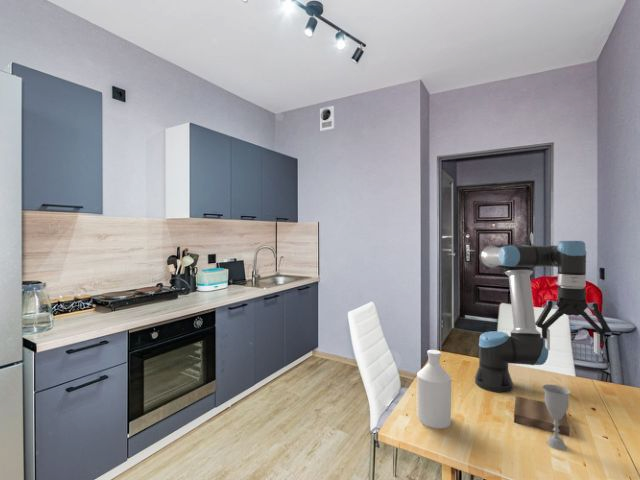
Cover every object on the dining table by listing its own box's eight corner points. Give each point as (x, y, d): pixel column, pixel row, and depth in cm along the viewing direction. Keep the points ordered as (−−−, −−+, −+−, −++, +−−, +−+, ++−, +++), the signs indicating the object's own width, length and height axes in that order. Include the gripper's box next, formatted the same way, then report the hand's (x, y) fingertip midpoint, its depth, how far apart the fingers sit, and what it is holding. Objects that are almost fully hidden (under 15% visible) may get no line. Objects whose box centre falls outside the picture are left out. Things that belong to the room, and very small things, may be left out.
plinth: (514, 422, 121) (514, 414, 121) (515, 403, 135) (515, 396, 135) (569, 436, 113) (569, 427, 113) (564, 414, 126) (564, 406, 126)
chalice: (565, 441, 110) (566, 386, 110) (573, 453, 104) (574, 395, 103) (539, 436, 112) (540, 383, 112) (546, 449, 106) (546, 392, 106)
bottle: (432, 431, 116) (431, 359, 115) (410, 415, 127) (410, 348, 126) (458, 424, 120) (458, 354, 120) (435, 408, 131) (435, 344, 131)
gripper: (530, 286, 113) (530, 349, 113) (624, 290, 104) (624, 359, 104) (525, 283, 120) (526, 343, 120) (613, 287, 111) (613, 351, 111)
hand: (571, 350), depth 112 cm, fingers open, 13 cm apart
